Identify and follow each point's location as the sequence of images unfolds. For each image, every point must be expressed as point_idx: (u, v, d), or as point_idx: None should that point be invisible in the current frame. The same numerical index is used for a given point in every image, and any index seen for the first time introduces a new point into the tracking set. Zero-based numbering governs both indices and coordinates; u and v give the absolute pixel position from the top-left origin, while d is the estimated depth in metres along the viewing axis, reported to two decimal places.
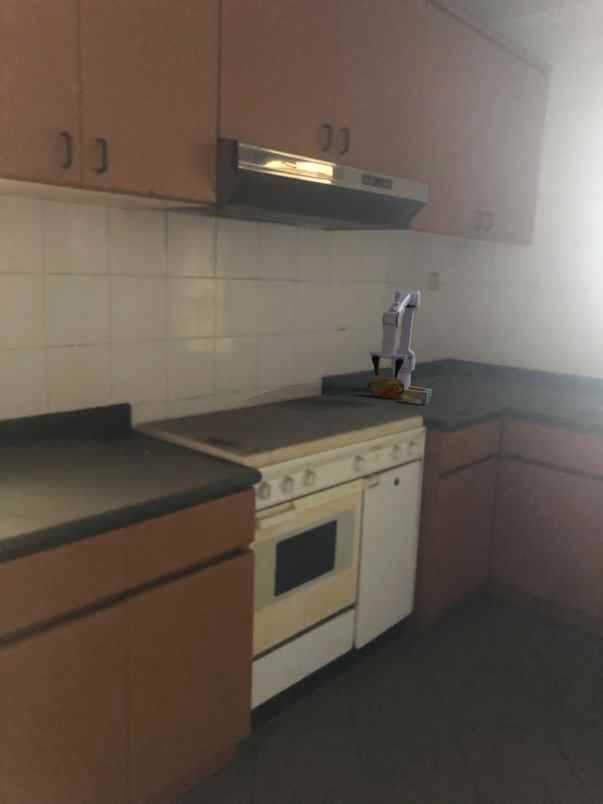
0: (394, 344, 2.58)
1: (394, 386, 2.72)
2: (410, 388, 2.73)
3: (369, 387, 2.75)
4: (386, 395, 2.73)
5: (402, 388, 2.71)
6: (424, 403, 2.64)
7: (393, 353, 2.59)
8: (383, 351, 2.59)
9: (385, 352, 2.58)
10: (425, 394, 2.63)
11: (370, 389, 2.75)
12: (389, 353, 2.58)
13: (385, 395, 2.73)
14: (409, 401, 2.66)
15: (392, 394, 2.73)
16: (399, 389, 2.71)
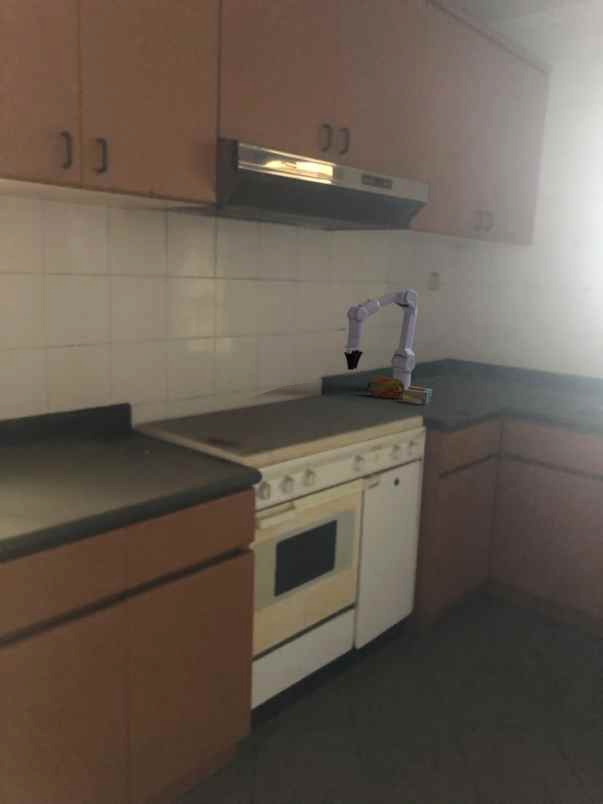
0: (349, 337, 2.69)
1: (394, 386, 2.72)
2: (410, 388, 2.73)
3: (369, 387, 2.75)
4: (386, 395, 2.73)
5: (402, 388, 2.71)
6: (424, 403, 2.64)
7: (349, 345, 2.70)
8: None
9: None
10: (425, 394, 2.63)
11: (370, 389, 2.75)
12: (347, 345, 2.72)
13: (385, 395, 2.73)
14: (409, 401, 2.66)
15: (392, 394, 2.73)
16: (399, 389, 2.71)
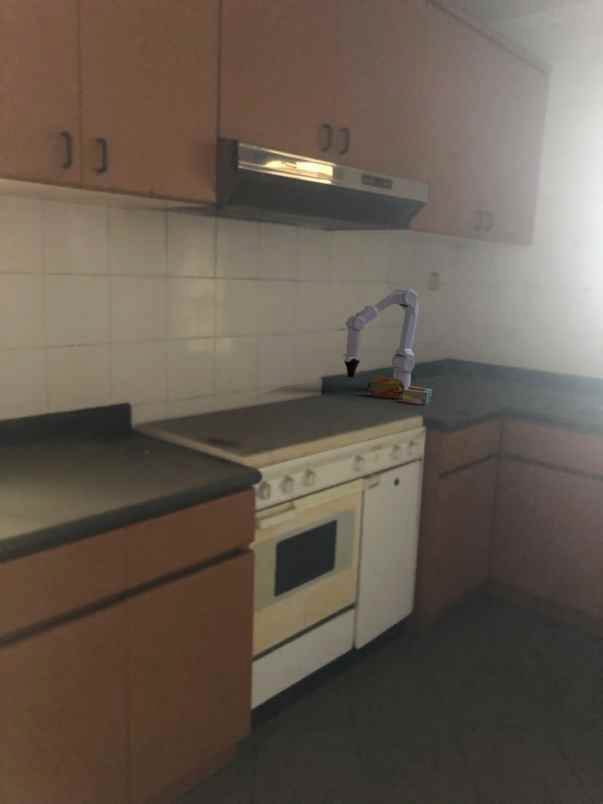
0: (348, 346, 2.74)
1: (394, 386, 2.72)
2: (410, 388, 2.73)
3: (369, 387, 2.75)
4: (386, 395, 2.73)
5: (402, 388, 2.71)
6: (424, 403, 2.64)
7: (347, 354, 2.75)
8: None
9: None
10: (425, 394, 2.63)
11: (370, 389, 2.75)
12: None
13: (385, 395, 2.73)
14: (409, 401, 2.66)
15: (392, 394, 2.72)
16: (399, 389, 2.71)
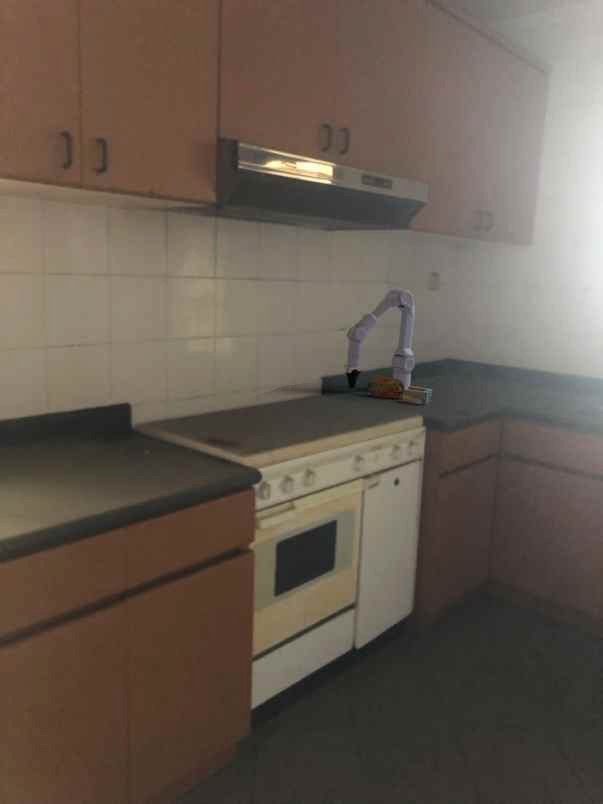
0: (349, 356, 2.75)
1: (394, 386, 2.72)
2: (410, 388, 2.73)
3: (369, 387, 2.75)
4: (386, 395, 2.73)
5: (402, 388, 2.71)
6: (424, 403, 2.64)
7: (348, 365, 2.76)
8: None
9: None
10: (425, 394, 2.63)
11: (370, 389, 2.75)
12: None
13: (385, 395, 2.73)
14: (409, 401, 2.66)
15: (392, 394, 2.73)
16: (399, 389, 2.71)
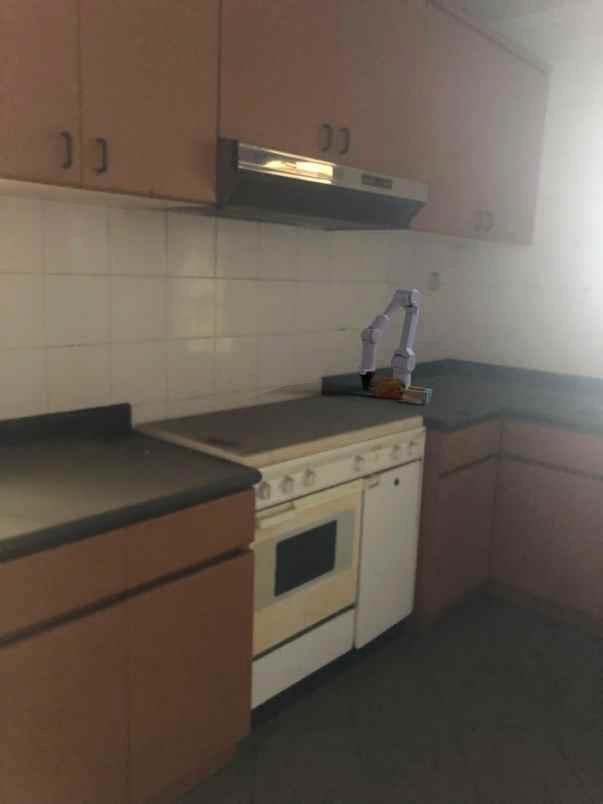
0: (363, 358, 2.73)
1: (396, 386, 2.72)
2: (410, 388, 2.73)
3: (371, 387, 2.75)
4: (388, 395, 2.73)
5: (404, 388, 2.71)
6: (424, 403, 2.64)
7: (362, 367, 2.74)
8: None
9: None
10: (425, 394, 2.63)
11: (372, 389, 2.75)
12: (361, 366, 2.75)
13: (387, 395, 2.73)
14: (409, 401, 2.66)
15: (394, 394, 2.72)
16: (401, 389, 2.71)
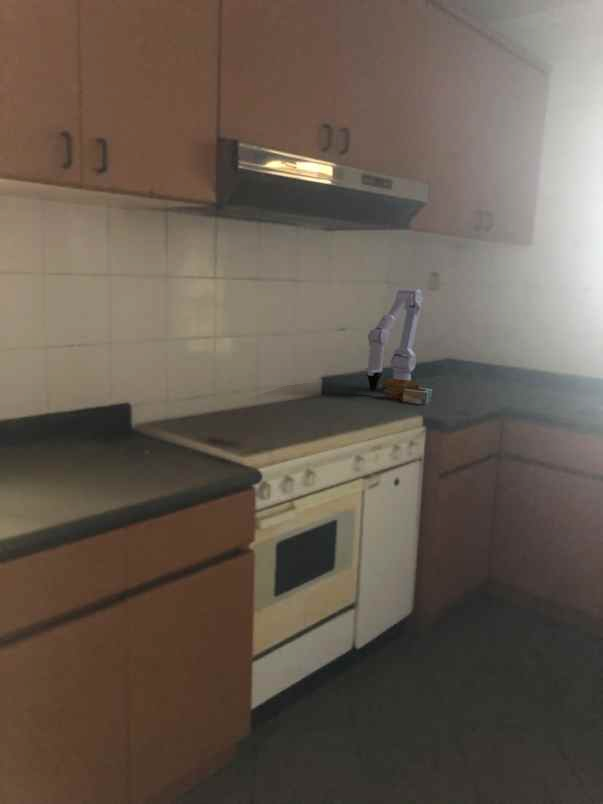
0: (371, 359, 2.72)
1: (409, 388, 2.70)
2: None
3: (384, 389, 2.73)
4: (401, 397, 2.71)
5: (417, 390, 2.69)
6: (424, 403, 2.64)
7: (370, 367, 2.72)
8: None
9: None
10: (425, 394, 2.63)
11: (385, 391, 2.73)
12: (368, 367, 2.74)
13: (400, 397, 2.71)
14: (409, 401, 2.66)
15: None
16: None
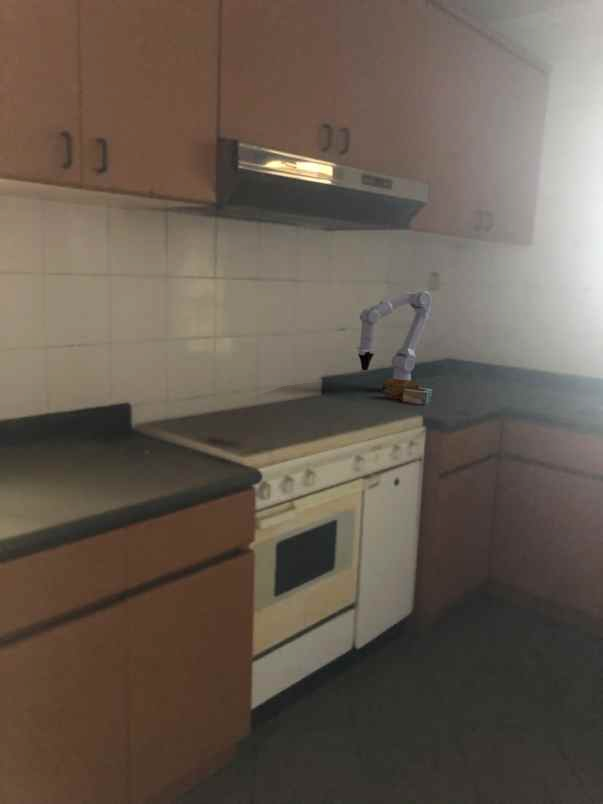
0: (362, 339, 2.76)
1: (409, 388, 2.70)
2: None
3: (384, 389, 2.73)
4: (401, 397, 2.71)
5: (417, 390, 2.69)
6: (424, 403, 2.64)
7: (361, 347, 2.76)
8: None
9: None
10: (425, 394, 2.63)
11: (385, 391, 2.73)
12: (359, 347, 2.78)
13: (400, 397, 2.71)
14: (409, 401, 2.66)
15: None
16: None
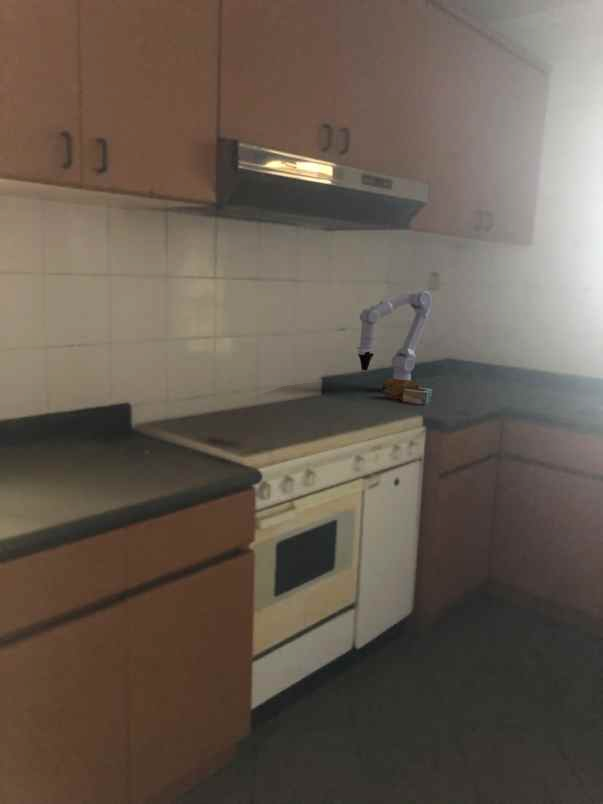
0: (362, 339, 2.76)
1: (409, 388, 2.70)
2: None
3: (384, 389, 2.73)
4: (401, 397, 2.71)
5: (417, 390, 2.69)
6: (424, 403, 2.64)
7: (361, 347, 2.77)
8: None
9: None
10: (425, 394, 2.63)
11: (385, 391, 2.73)
12: (359, 347, 2.78)
13: (400, 397, 2.71)
14: (409, 401, 2.66)
15: None
16: None
